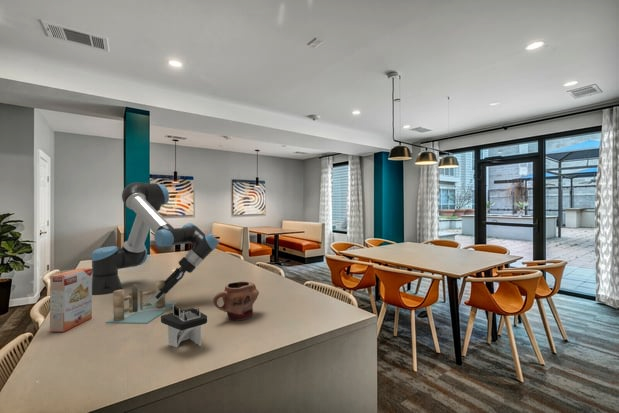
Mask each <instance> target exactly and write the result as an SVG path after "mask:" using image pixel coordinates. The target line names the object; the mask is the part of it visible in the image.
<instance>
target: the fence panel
mask: <svg viewBox="0 0 619 413" xmlns="http://www.w3.org/2000/svg"><path fill="white" fill-rule="evenodd" d="M164 286H165V280H164V279H163V280H162V279H161V280H160V279H159V280H157V281H155V290H150V291H143V289H140V290H139V301H140V302H139V304H140V310H143V307H144V306H150V305H152V304H150V303H149V302H148V301H147V302H148V303H142V302H143V296H152V295H153V294H156V293H157V292H158V291H159V288H160V289H162V288H163V287H164ZM165 303H166V294H164V295H163V296H162V297H161V298H160V299H159V300H158V301H157V302H156V303H155V304H154V305H156V308H163V307H165Z"/></svg>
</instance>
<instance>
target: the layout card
mask: <svg viewBox="0 0 619 413" xmlns="http://www.w3.org/2000/svg"><path fill="white" fill-rule="evenodd" d="M142 303H148V301H146V302H145V301H144V302H143V301H142ZM177 303H178V302H165V307H163V308H156V305H150V306H144V307H143V310H140V303H138V311H137V312H132V313H129V311H128V312H126V313H124V320H121V321H114V317H112V318H110V319H108V320H107V321H105V324H143V325H144V324H145V325H147V324H149V323H151V322H153V320H155V319H156V318H158V317H159V316H160V317H161V316H162V315H163V314H164V313H166V312H167V311H169V310H170V309H171V307H172V308H173V305H175V306H176V305H177ZM162 313H163V314H162Z"/></svg>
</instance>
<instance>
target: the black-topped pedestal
mask: <svg viewBox="0 0 619 413" xmlns="http://www.w3.org/2000/svg"><path fill="white" fill-rule="evenodd" d="M160 322H161V323H162V324H163V325H166V326H167V330H168V331H167V332H168V333H167V336H168V338H167V340H168V342H167V343H168V344H167V345H168V346H171V347H175V348H178V347H179V346H180V343H181V342H183V341H186V340H190V341H192V342H193V341H194V342H193V343H195V344H196V345H197V344H198V345H197V346H199V347H200V346H201V347H202V326H203V325H206V324H207V322H208V315H207V314H205V313H203V312H201V307H198V308H194V307H191V308H186V309H181V308H178V307H176V305H175V306H174V305H173V307H172V312H170V313H166V314H161V315H160Z"/></svg>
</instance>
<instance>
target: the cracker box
mask: <svg viewBox="0 0 619 413" xmlns="http://www.w3.org/2000/svg"><path fill="white" fill-rule="evenodd" d="M49 283H50V284H49V286H50V287H49V290H50V291H49V332H50V333H52V332H53V333H58V332H59V333H66V332H67V331H69V330H72V329H73V328H75V327H77V326H79V325H81V324H84V323H86V322H87V321H89V320H91V319H92V318H93V314H92V313H93V312H92V311H93V294H92V267H91V268H90V267H86V268H85V267H84V268H83V267H81V268H80V267H79V268H76V269H72V270H68V271H64V272H59V273H56V274H51V275H50V279H49Z"/></svg>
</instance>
